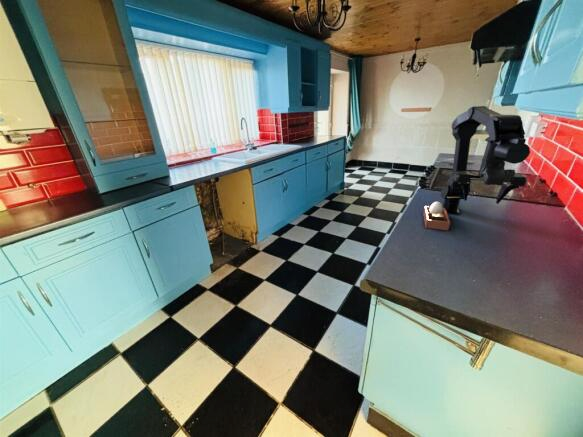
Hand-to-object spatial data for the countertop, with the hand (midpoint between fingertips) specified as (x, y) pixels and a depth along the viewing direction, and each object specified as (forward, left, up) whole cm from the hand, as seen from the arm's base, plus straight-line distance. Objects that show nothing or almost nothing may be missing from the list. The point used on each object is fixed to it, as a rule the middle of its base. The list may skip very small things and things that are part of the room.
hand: (480, 201), depth 84 cm
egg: (-10, -12, -12) cm, 19 cm away
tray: (-6, -12, -12) cm, 18 cm away
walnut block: (-2, -12, -12) cm, 17 cm away
